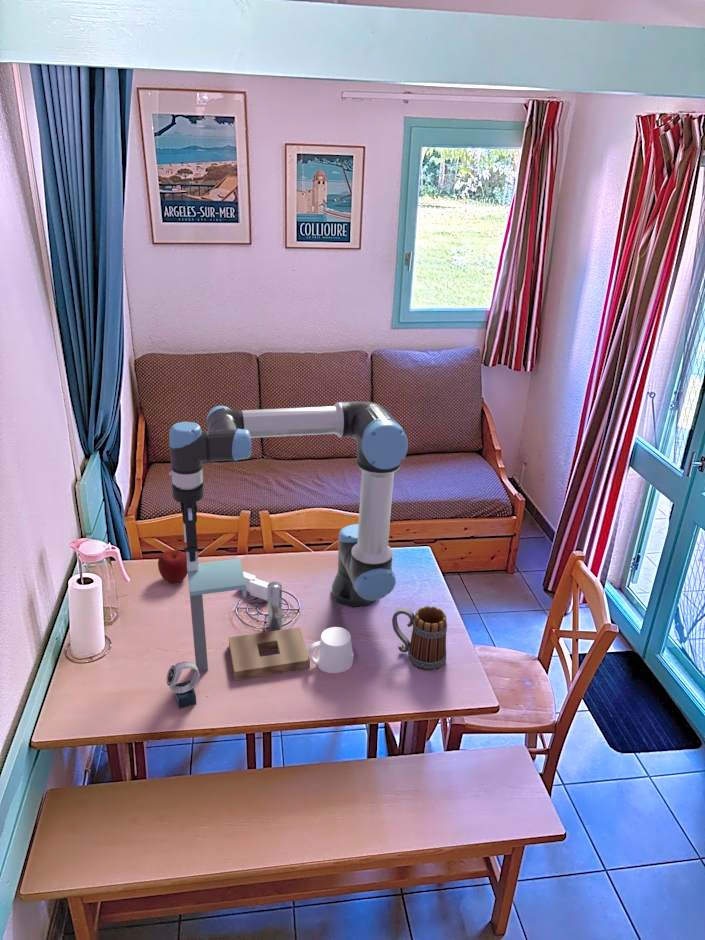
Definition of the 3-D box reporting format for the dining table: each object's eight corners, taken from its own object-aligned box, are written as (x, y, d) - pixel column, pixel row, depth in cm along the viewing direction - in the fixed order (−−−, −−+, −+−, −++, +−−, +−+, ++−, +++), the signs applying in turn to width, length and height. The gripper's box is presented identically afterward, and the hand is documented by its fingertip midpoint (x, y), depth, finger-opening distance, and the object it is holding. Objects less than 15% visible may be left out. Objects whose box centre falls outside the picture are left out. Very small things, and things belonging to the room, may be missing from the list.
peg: (281, 620, 213) (280, 580, 207) (283, 628, 210) (282, 589, 203) (267, 622, 212) (266, 582, 206) (269, 630, 209) (268, 590, 202)
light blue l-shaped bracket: (244, 646, 202) (239, 558, 189) (249, 675, 192) (245, 584, 179) (194, 653, 199) (186, 564, 186) (197, 683, 189) (189, 591, 176)
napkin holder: (281, 602, 222) (281, 586, 219) (245, 610, 217) (245, 595, 215) (266, 575, 234) (265, 560, 231) (231, 583, 229) (231, 568, 227)
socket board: (299, 635, 207) (299, 627, 206) (309, 668, 195) (309, 660, 194) (229, 646, 202) (228, 637, 201) (235, 680, 190) (234, 671, 189)
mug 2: (449, 651, 203) (454, 608, 196) (441, 676, 194) (446, 631, 187) (396, 638, 207) (399, 595, 201) (385, 661, 198) (388, 617, 192)
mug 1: (349, 624, 198) (356, 643, 191) (348, 651, 202) (355, 671, 195) (306, 630, 195) (312, 649, 188) (306, 657, 199) (311, 677, 192)
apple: (187, 589, 225) (184, 562, 220) (156, 588, 225) (153, 561, 221) (193, 572, 233) (191, 545, 229) (163, 571, 233) (161, 544, 229)
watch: (167, 695, 185) (163, 662, 180) (198, 687, 188) (195, 654, 183) (171, 711, 180) (167, 677, 175) (203, 702, 183) (200, 668, 178)
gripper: (170, 462, 190) (174, 531, 199) (174, 509, 168) (178, 584, 178) (199, 460, 192) (202, 529, 201) (207, 506, 170) (209, 581, 180)
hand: (191, 555), depth 189 cm, fingers open, 13 cm apart
